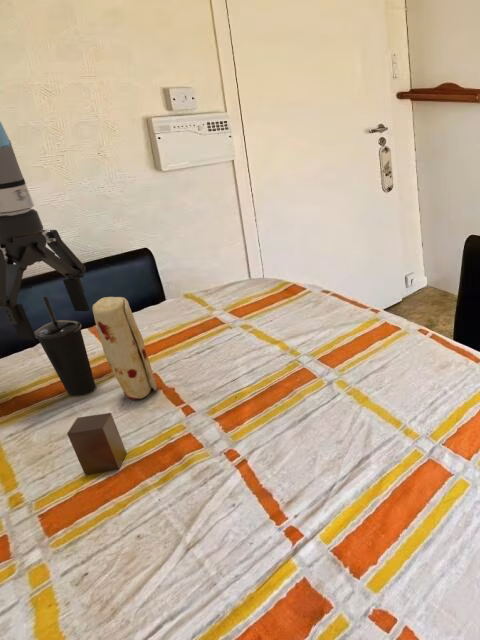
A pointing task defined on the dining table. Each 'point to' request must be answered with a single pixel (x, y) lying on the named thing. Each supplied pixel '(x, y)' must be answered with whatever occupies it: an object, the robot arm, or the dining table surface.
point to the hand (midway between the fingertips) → (56, 323)
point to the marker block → (97, 443)
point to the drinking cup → (67, 353)
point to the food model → (124, 346)
